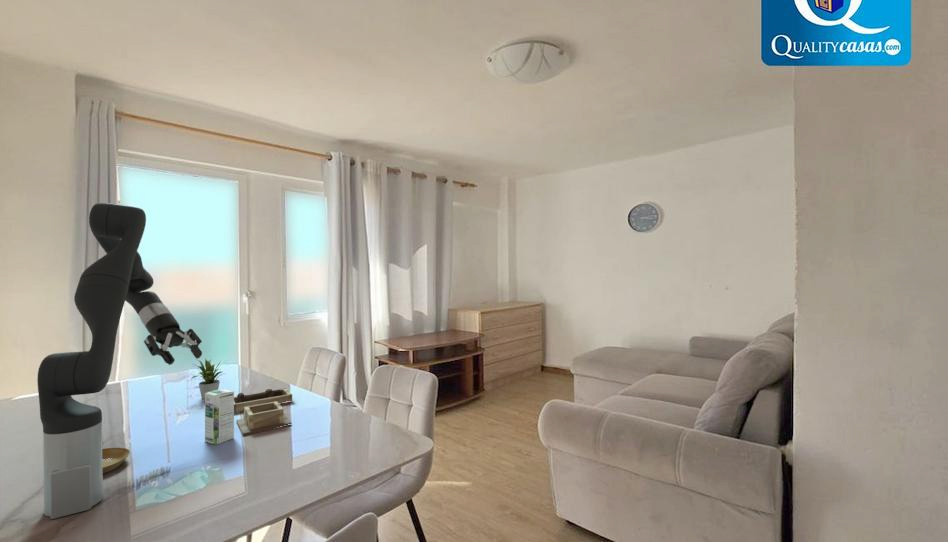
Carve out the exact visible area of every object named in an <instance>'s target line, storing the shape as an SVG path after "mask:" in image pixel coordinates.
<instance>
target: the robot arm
mask: <svg viewBox="0 0 948 542" xmlns="http://www.w3.org/2000/svg"><path fill="white" fill-rule="evenodd" d="M146 215H147V214H146V212H145V210H144V209H143V208H141V207H139V206H134V205H126V204H119V203H111V202H109V203H108V202H98V203H95V204H94V205H93V206H92V207H91V209H90V211H89V218H88V219H89V220H88V223H89V228H90V231H91V232H92V235H93V236H94V238H95V239H96V241H97V242H98V243H99V245H100V247H101V248H102V249H103V250H104V252H105V253H106V254H104V255H103V256H102V257H100V258H99V259H98V260H96V261H95V262H93V263H91V264H90V265H89V266H88V267H87V268H86V269H84V271H83V272H82V273H81V275H80V277H79V280H78V284H77V287H76V290H75V293H74V297H73V298H74V299H73V301H74V304H75V306H76V309H77V310H78V312H79V314H80V315H81V316H82V318H83V320H84V321H85V323H86V324H87V326H88V327H89V328H88V329H89V331H90V332H91V336H92V338H91V345H90V349H89V350H88V351H85V350H84V351H70V352H57V353H51V354H48V355H46V356H45V357H44V358H43V360H42V361H41V362H40V364H39V367H38V371H37V379H36V381H37V393H38V402H39V404H38V405H39V416H40V417H39V418H40V421H41V424H42V443H43V445H42V447H43V448H42V451H43V452H42V453H43V454H42V455H43V456H42V457H43V458H42V459H43V460H42V461H43V464H42V465H43V507H44V508H43V512H44V516H45V517H49V518H50V519H49V520H55V519H58V518H63V517H65V516H69V515H73V514H77V513H81V512H84V511H89V510H91V509H92V508H93V506H95V505H97V504H99V503H100V502H101V500H103V497H104V477H103V475H104V474H103V467H102V449H103V413H102V410H101V408H100V407H97V406H93V405H89V404H86V403H82V402H79V401H78V400H76V399H74V398H73V396H79V395H80V396H81V395H90V394H96V393H97V394H98V393H99V392H102V391H103V390H104V389H105V388H106V387H107V385H108V383H109V380H110V377H111V373H112V366H113V361H114V355H115V348H116V341H117V334H118V329H119V324H120V320H121V316H122V312H123V310H124V306H125V302H127V303H128V304H129V305H130V306H131V307H132V308H133V310H134V311H135V312H136V314H137V315H138V317H139V319H140V322H141V324H143V326H144V328H146V329H145V330H146V331H147V332H148V333H149V334H148V335H147V336H146V337H145V339H144V340H143V343H144V345H145V346H146V349H147V350H148V351H149V354H150V355H151V356H152V357H154V356H159V357H161V358H162V359H163V361H164V363H165V364H167V365H168V366H171V365H172V364H174V362H175V358H174V356H173V355H172V354H171V352H170V350H168V349H169V348H174V347H182V348H187V349H188V350H190V352H191V354H192V355H193V356H194V357H195V360H198V359H200V358H201V356H202V354H203V352H202V350H201V349H200V347H199V345H201V343H202V341H203V340H202V339H201V338H200V337H199V336H198V335H197V333H196V332H195V330H194V329H192V328H188V329H187V330H186V331H183V330H182V329H181V327H180V323H179V322H178V321H177V319H176V318H175V317H174V315H173V314H172V312H171V311H170V310H169V308H168V307H167V306H166V305H165V304H164V303H163V301H162V300H161V298H160V297H159V296H158V294H157V293H156V292H155V291H150V290H149V289H151V288H152V287H153V285H154V278H153V276H152V275H151V274H150V273H149V271H147V270H146V269H145V268H144V265H143V261H142V257H141V253H139V251H138V250H139V248H140V245H141V244H140V243H141V241H142V238H143V235H144V234H145V233H144V232H145V229H146V223H147V216H146ZM184 340H185V342H184ZM157 343H158V344H157ZM159 344H160V347H159Z"/></svg>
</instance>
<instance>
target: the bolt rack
mask: <svg viewBox="0 0 948 542" xmlns="http://www.w3.org/2000/svg"><path fill="white" fill-rule="evenodd" d="M278 390H282V393H283V395H282V396H276V397H270V398H264V399H259V400H253V401H247V402H242V403H237V396H234V414H237V413H242V412H243V413H244V407H247V406H253V405H258V404H264V403H269V402H275V401H277V402H278V403H282V402H286V401H292V402H293V394H292V392H290V391H289V390H288V389H287V388H281V389H280V388H279V389H278ZM272 391H274V389H272ZM262 392H263V391H261V392H260V393H262ZM257 393H258V392H255V393H254V394H257ZM251 394H252V393H249V394H248V395H251Z"/></svg>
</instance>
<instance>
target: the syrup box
mask: <svg viewBox="0 0 948 542" xmlns="http://www.w3.org/2000/svg"><path fill="white" fill-rule="evenodd" d="M234 397H235V391H234V390H228V389H224V388H221V389H219V388H218V390H214V391H210V392H208V393H205V400H204V442H205V443H209V444H212V445H216V446H217V445H219V444H221V443H225V442H227V441H230V440H233V439H234V438H235V413H234Z"/></svg>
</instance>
